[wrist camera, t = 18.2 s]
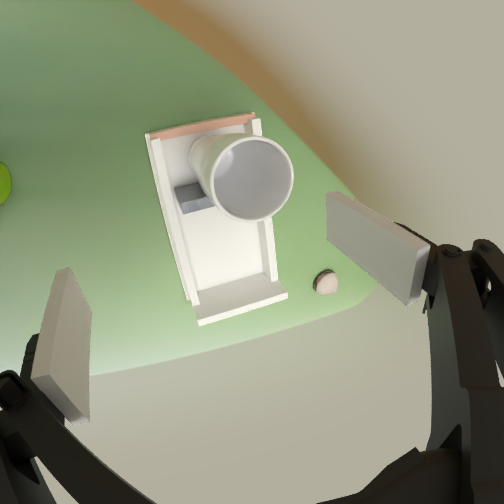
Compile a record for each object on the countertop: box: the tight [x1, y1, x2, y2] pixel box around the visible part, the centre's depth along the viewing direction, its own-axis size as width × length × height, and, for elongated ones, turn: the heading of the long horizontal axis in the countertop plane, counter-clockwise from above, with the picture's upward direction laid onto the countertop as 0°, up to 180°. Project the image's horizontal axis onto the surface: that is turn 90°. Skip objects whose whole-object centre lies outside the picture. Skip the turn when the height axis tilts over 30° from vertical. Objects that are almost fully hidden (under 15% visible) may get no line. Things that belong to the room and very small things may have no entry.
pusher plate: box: [174, 182, 215, 214], centre depth 35 cm, size 1×9×6 cm, turn 98°
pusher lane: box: [145, 112, 288, 326], centre depth 38 cm, size 23×13×7 cm, turn 8°
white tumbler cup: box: [188, 133, 294, 223], centre depth 30 cm, size 7×7×15 cm
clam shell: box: [314, 271, 338, 295], centre depth 51 cm, size 4×5×2 cm
